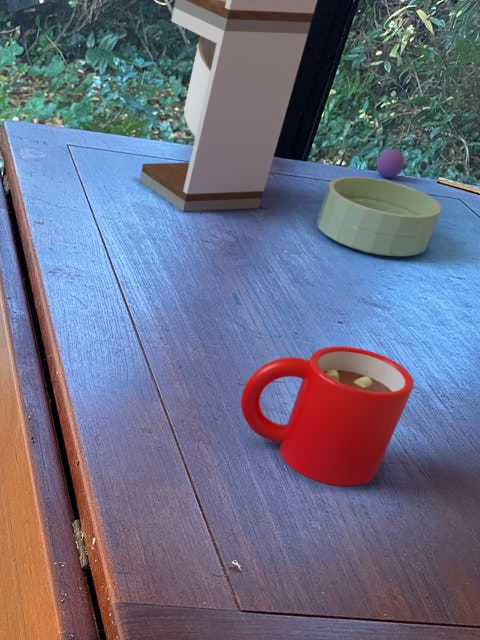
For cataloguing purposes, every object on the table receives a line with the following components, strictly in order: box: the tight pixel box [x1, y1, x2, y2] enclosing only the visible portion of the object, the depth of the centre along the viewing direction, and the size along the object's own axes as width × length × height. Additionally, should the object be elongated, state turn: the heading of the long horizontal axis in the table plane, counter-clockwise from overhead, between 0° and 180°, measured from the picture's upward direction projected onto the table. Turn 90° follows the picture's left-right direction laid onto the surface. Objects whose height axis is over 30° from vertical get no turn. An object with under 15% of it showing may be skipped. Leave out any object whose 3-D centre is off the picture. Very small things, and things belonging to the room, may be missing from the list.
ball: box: [376, 148, 405, 178], centre depth 140 cm, size 4×4×4 cm
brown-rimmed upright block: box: [139, 0, 318, 212], centre depth 115 cm, size 11×11×35 cm
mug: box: [240, 345, 414, 487], centre depth 78 cm, size 8×12×8 cm, turn 77°
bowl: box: [316, 175, 443, 257], centre depth 120 cm, size 13×13×5 cm
